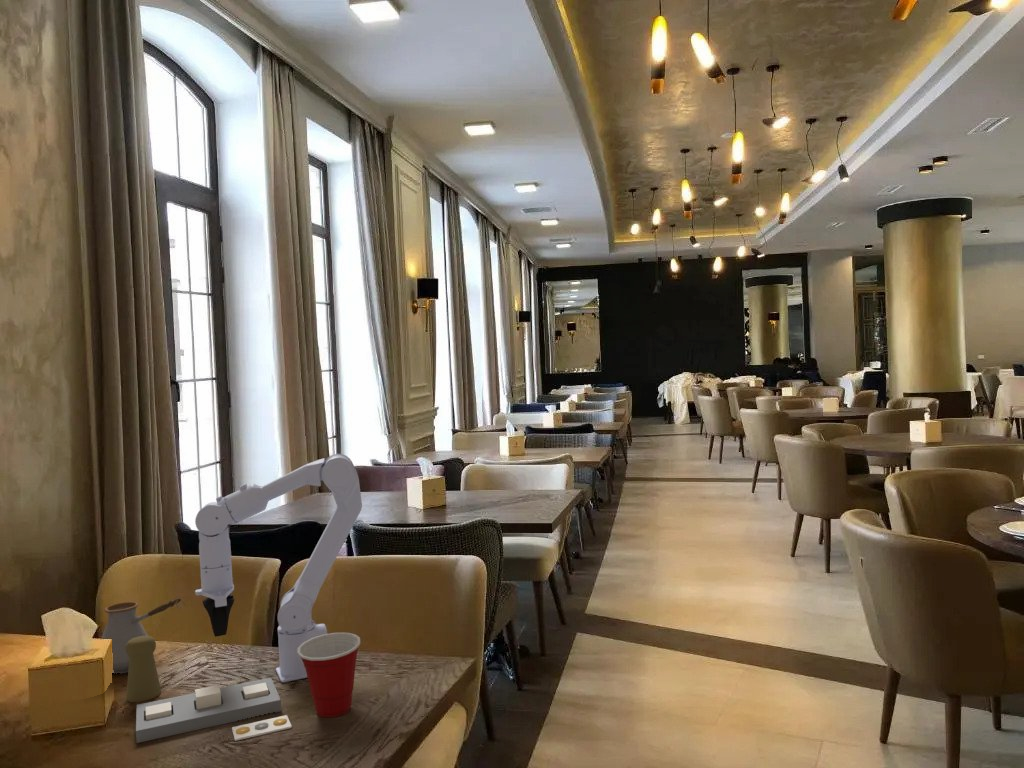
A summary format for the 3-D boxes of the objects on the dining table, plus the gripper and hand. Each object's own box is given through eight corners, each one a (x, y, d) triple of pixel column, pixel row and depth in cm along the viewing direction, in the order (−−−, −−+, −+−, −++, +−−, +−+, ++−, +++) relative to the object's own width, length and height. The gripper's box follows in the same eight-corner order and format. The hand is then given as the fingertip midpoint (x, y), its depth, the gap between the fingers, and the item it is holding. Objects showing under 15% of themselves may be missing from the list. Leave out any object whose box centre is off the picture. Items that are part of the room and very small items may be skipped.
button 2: (266, 695, 146) (265, 682, 146) (269, 703, 142) (268, 689, 142) (243, 700, 144) (242, 687, 144) (245, 708, 140) (245, 694, 140)
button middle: (219, 698, 142) (218, 684, 142) (221, 706, 139) (220, 692, 139) (195, 703, 141) (194, 689, 141) (196, 711, 137) (196, 697, 137)
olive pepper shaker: (147, 702, 146) (143, 643, 146) (118, 701, 148) (115, 642, 147) (168, 689, 152) (164, 632, 152) (140, 688, 153) (136, 632, 153)
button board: (271, 687, 150) (271, 677, 150) (281, 711, 139) (280, 699, 139) (137, 716, 140) (136, 704, 140) (136, 743, 130) (135, 731, 129)
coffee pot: (81, 675, 162) (76, 602, 162) (125, 655, 173) (120, 587, 173) (165, 683, 156) (160, 607, 155) (205, 662, 166) (201, 590, 166)
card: (287, 716, 137) (286, 713, 137) (291, 727, 132) (291, 724, 132) (231, 729, 133) (231, 726, 133) (234, 741, 128) (234, 737, 128)
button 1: (171, 715, 139) (170, 701, 139) (172, 724, 135) (171, 710, 135) (146, 721, 137) (145, 706, 137) (146, 730, 134) (145, 715, 134)
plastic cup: (287, 721, 135) (283, 651, 135) (324, 695, 145) (320, 630, 145) (342, 728, 131) (338, 655, 131) (376, 701, 141) (372, 634, 141)
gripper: (191, 561, 159) (196, 628, 159) (195, 576, 145) (200, 649, 146) (229, 555, 161) (233, 622, 162) (236, 570, 148) (240, 642, 148)
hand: (220, 634), depth 154 cm, fingers closed
